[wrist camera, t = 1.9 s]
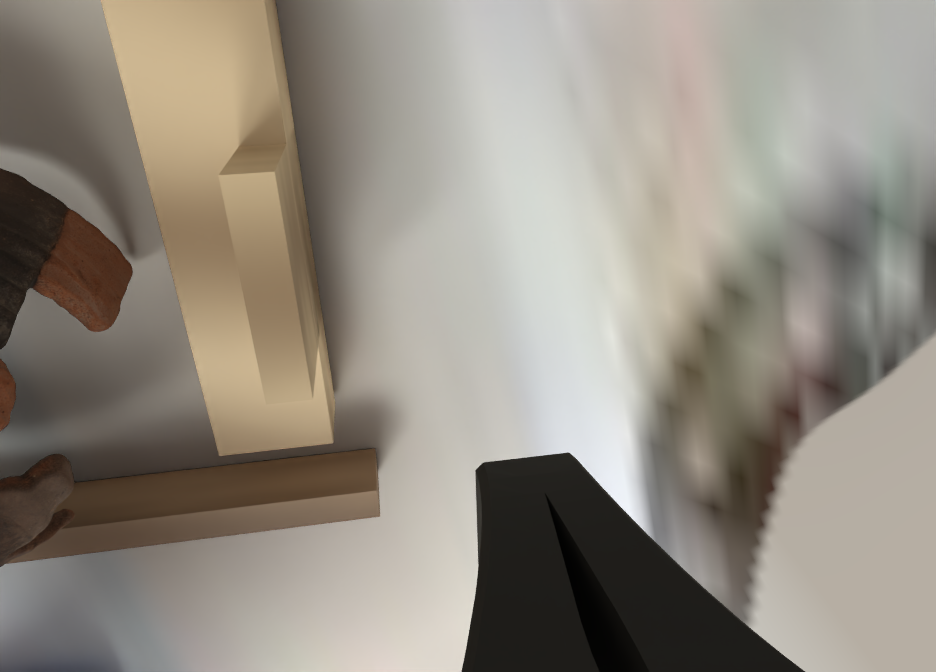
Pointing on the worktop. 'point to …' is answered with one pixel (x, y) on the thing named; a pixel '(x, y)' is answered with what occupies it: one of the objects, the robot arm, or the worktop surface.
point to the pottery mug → (83, 295)
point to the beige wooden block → (230, 211)
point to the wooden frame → (215, 503)
